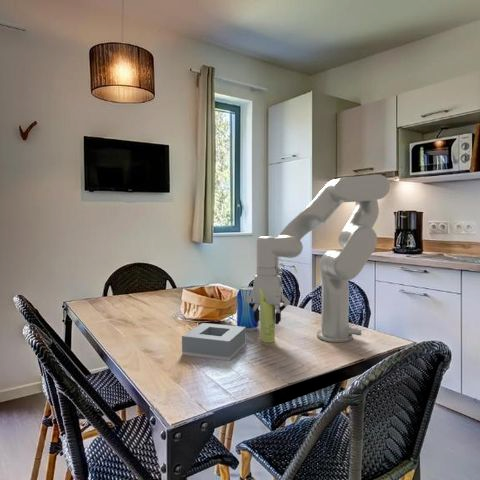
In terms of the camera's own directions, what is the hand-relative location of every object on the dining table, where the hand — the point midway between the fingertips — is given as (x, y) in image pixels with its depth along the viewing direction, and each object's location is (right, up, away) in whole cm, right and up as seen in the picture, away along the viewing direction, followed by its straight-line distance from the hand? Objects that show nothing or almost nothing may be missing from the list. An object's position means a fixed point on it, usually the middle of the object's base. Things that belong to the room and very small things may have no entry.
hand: (267, 322), depth 138 cm
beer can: (-6, -6, +15) cm, 18 cm away
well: (-18, -7, -8) cm, 21 cm away
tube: (0, -7, 0) cm, 7 cm away
